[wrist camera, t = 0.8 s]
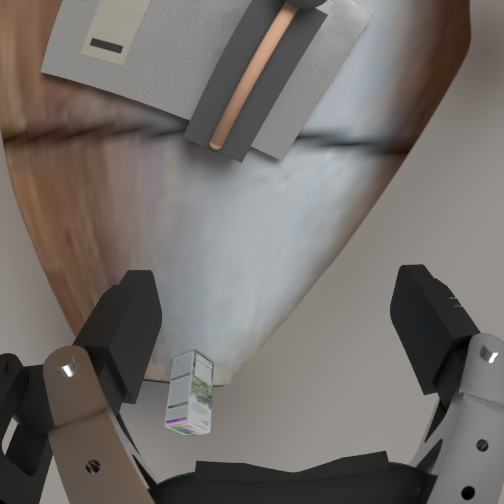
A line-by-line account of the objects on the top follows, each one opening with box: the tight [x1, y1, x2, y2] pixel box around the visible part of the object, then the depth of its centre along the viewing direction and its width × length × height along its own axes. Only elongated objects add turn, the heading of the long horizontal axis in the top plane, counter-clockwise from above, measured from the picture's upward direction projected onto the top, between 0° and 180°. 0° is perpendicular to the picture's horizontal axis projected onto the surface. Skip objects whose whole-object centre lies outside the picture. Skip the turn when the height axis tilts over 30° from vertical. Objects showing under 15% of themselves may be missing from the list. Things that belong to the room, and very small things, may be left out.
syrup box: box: [165, 350, 214, 436], centre depth 52 cm, size 6×6×14 cm
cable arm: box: [183, 0, 328, 162], centre depth 23 cm, size 19×6×4 cm, turn 153°
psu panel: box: [41, 0, 373, 161], centre depth 23 cm, size 28×18×1 cm, turn 63°
